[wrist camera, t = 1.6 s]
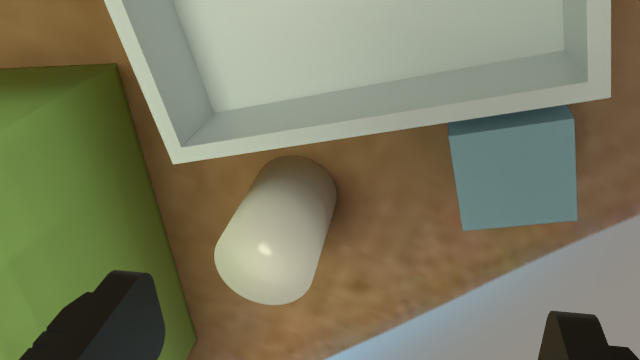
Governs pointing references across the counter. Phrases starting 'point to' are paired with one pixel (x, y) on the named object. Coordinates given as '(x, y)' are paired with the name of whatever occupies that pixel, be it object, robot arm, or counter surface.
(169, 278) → the canister
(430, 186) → the counter surface
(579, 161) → the counter surface
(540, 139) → the cube
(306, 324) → the counter surface
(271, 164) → the white piece
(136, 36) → the tote
